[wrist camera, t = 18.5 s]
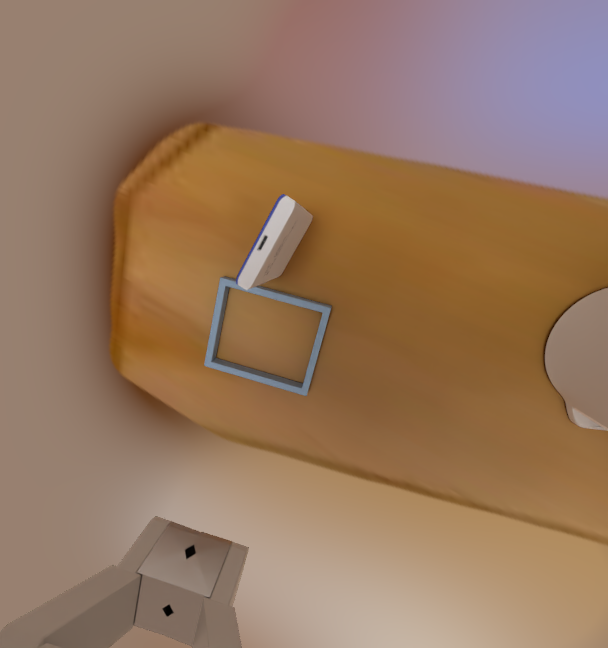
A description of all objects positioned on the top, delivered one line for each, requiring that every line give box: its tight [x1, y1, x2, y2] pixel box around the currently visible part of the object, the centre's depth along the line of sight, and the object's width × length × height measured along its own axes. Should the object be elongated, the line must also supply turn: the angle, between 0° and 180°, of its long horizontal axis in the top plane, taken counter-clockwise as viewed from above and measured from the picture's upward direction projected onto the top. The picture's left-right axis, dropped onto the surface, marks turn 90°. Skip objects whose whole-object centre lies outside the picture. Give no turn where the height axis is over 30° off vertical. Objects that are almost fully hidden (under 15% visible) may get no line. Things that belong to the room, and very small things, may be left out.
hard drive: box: [236, 194, 313, 290], centre depth 32 cm, size 2×8×12 cm, turn 149°
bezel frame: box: [204, 277, 332, 396], centre depth 40 cm, size 14×12×2 cm
